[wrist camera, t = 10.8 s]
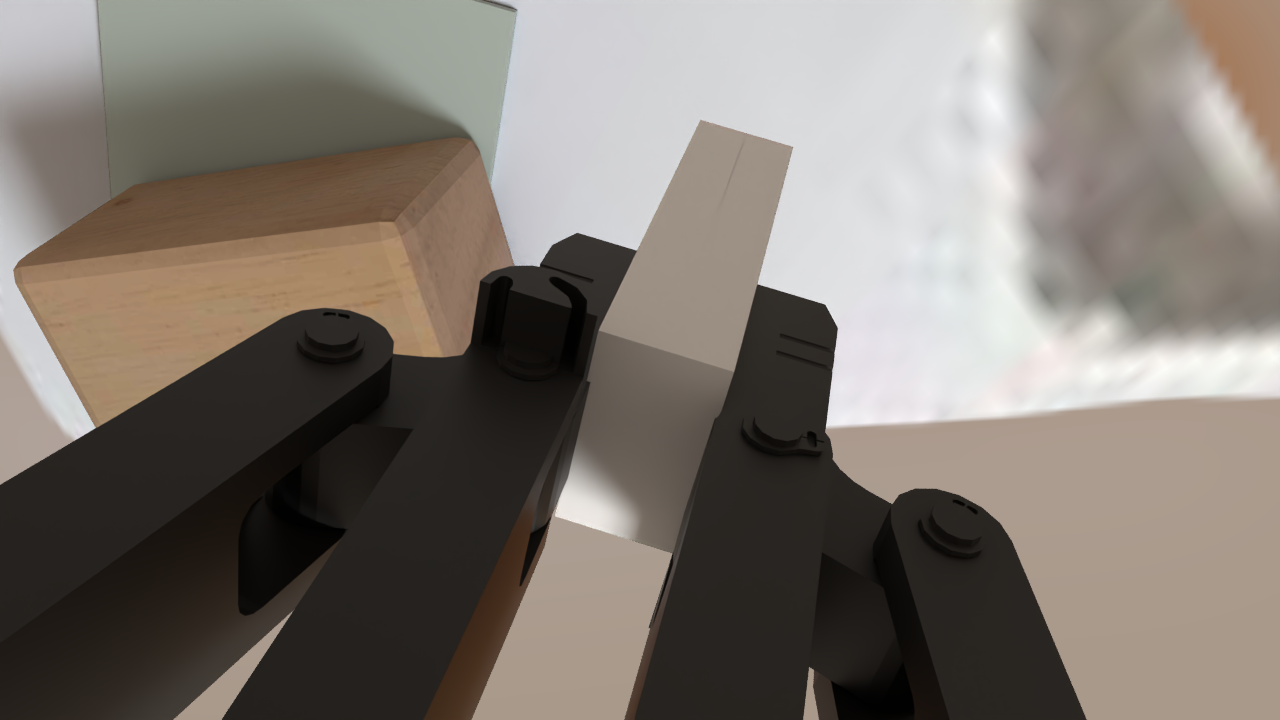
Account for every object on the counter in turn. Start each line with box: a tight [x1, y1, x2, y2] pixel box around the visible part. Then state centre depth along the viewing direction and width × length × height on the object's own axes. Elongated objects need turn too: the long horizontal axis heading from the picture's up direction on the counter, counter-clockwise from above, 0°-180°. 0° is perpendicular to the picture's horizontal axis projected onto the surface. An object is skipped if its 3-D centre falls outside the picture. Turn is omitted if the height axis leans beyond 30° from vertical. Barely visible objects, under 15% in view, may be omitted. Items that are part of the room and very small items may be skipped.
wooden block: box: [13, 137, 514, 428], centre depth 52 cm, size 10×10×20 cm
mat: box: [98, 0, 517, 200], centre depth 53 cm, size 16×20×1 cm
